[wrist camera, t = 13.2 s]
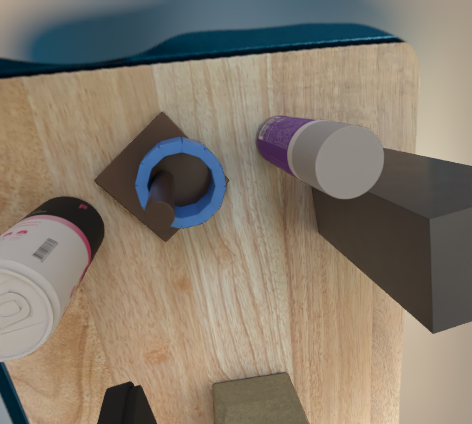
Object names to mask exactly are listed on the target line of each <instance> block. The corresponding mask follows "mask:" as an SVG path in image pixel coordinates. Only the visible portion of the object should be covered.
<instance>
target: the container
mask: <svg viewBox="0 0 472 424" xmlns="http://www.w3.org/2000/svg"><path fill="white" fill-rule="evenodd" d="M256 146H257V149H258V151H259V153H260V155H261V156H262V157H263V158H265V159H266V160H268V161H269V162H271V163H272V164H274V165H276V166H277V167H279V168H281V169H282V170H284V171H286V172H287V173H289V174H291V175H292V176H294V177H296V178H297V179H299V180H301V181H303V182H305V183H307V184H309V185H311V186H313V187H315V188H317V189H318V190H320V191H322V192H324V193H326V194H328V195H330V196H332V197H335V198H338V199H352V198H355V197H358V196H360V195H362V194H364V193H365V192H367V191H368V190H369V189H370V188H371V187H372V186H373V185H374V184H375V183H376V181H377V180H378V178H379V176H380V174H381V172H382V169H383V164H384V151H383V147H382V144H381V142H380V140H379V138H378V137H377V136H376V135H375V134H374V133H373V132H372V131H371V130H369V129H367V128H365V127H362V126H356V125H350V124H344V123H338V122H332V121H327V120H319V119H309V118H298V117H288V116H274V117H271V118H269V119H267V120H266V121H264V122H263V123H262V124H261V126H260V127H259V129H258V131H257V134H256Z"/></svg>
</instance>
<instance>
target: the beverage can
mask: <svg viewBox="0 0 472 424" xmlns="http://www.w3.org/2000/svg"><path fill="white" fill-rule="evenodd" d="M103 237H104V224H103V221H102V218H101V216H100V215H99V213H98V212H97V211H96V209H95V208H94V207H92V206H91V205H90V204H88V203H87V202H85V201H83V200H81V199H78V198H74V197H57V198H53V199H50V200H48V201H46V202H45V203H43V204H42V205H41V206H39V207H38V208H37V209H35V210H34V211H33V212H31V213H30V214H29V215H27V216H26V217H25V218H23V219H22V220H21V221H19V222H18V223H17V224H15V225H14V226H13V227H11V228H10V229H9V230H7V231H6V232H5V233H3V234H2V235H1V236H0V362H6V361H12V360H16V359H19V358H22V357H25V356H27V355H29V354H31V353H32V352H34V351H35V350H37V349H38V348H39V347H40V346H41V345H42V344H43V343H44V342H46V341H47V340H48V339H49V338H50V337H51V335H52V334H53V333H54V331H55V330H56V328H57V326H58V324H59V322H60V320H61V318H62V316H63V315H64V313H65V311H66V309H67V307H68V305H69V303H70V301H71V299H72V298H73V296H74V294H75V292H76V290H77V288H78V286H79V284H80V282H81V281H82V279H83V277H84V275H85V273H86V271H87V269H88V267H89V265H90V264H91V262H92V260H93V258H94V256H95V254H96V252H97V250H98V248H99V247H100V245H101V243H102V240H103Z"/></svg>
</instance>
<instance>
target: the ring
mask: <svg viewBox="0 0 472 424" xmlns="http://www.w3.org/2000/svg"><path fill="white" fill-rule="evenodd" d="M178 153H185V154H189V155H192V156H195V157H199V158H200V159H201V160H202V161H203V162H204V163H205V164H206V165H207V166H208V168H209V172H210V176H211V181H210V184H209V187H208V190H207V193H206V194H205V195H204V196H203V197H202V198H201V199H200V200H199V201H198V202H197V203H195V204H191V205H187V206H183V207H178V206H175V219H174V222H173V224H172V225H171V227H175V228H180V229H181V227H182V229H184V228H187V227H191V226H195V225H199V224H202V223H203V222H206V221H207V220H208V219H209V218H210V217H211V216H212V215H213V214H214V213H215V212H216V211H217V210H219V207H221V203H222V200H223V197H224V194H225V191H226V181H225V177H224V172H223V168H222V165H221V163H220V162H219V161H218V159H217V158H216V157H215V156H214V155H213V154H212V153H211V152H210V151H209V150H208V148H207V147H206V146H205V145H204V144H202V143H201V142H198V141H195V140H191V139H188V138H185V137H182V138H181V137H176V138H172V139H168V140H163V141H161V142H158V143H157V144H156V145H155V146H154V147H153V148H152V149H151V150H150V151H149V152H148V153H147V154H146V155H145V156H144V158H143V160H142V162H141V163H140V166H139V170H138V174H137V178H136V182H135V185H136V186H135V188H136V192H137V195H138V198H139V201H140V204H141V207H143V210H145V207H146V203H147V200H148V196H149V192H150V189H151V185H152V183H151V180H150V176H151V172H152V168H153V167H154V166H155V165H156V164H157V163H158V162H159V161H160V160H162V159H163V158H164V157H165V156H169V155H174V154H178ZM202 221H203V222H202Z"/></svg>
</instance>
